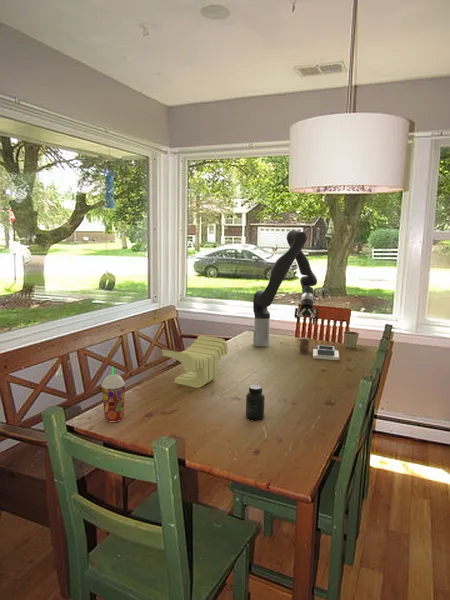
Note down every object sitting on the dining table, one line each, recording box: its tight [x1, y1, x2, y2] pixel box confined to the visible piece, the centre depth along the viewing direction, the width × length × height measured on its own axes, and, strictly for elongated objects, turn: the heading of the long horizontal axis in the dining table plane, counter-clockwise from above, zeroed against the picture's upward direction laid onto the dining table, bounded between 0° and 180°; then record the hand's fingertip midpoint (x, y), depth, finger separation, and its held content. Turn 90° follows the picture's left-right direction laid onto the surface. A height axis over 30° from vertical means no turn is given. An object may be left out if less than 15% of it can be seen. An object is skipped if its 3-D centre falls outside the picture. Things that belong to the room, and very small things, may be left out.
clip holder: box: [312, 345, 340, 361], centre depth 242 cm, size 14×14×4 cm
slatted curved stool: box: [161, 334, 229, 389], centre depth 198 cm, size 30×16×18 cm, turn 151°
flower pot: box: [342, 330, 360, 349], centre depth 261 cm, size 9×9×9 cm
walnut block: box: [299, 337, 310, 354], centre depth 250 cm, size 5×4×8 cm
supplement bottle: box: [245, 384, 266, 422], centre depth 161 cm, size 7×7×12 cm
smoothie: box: [100, 366, 126, 422], centre depth 157 cm, size 8×8×20 cm
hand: (305, 323), depth 259 cm, fingers open, 8 cm apart
